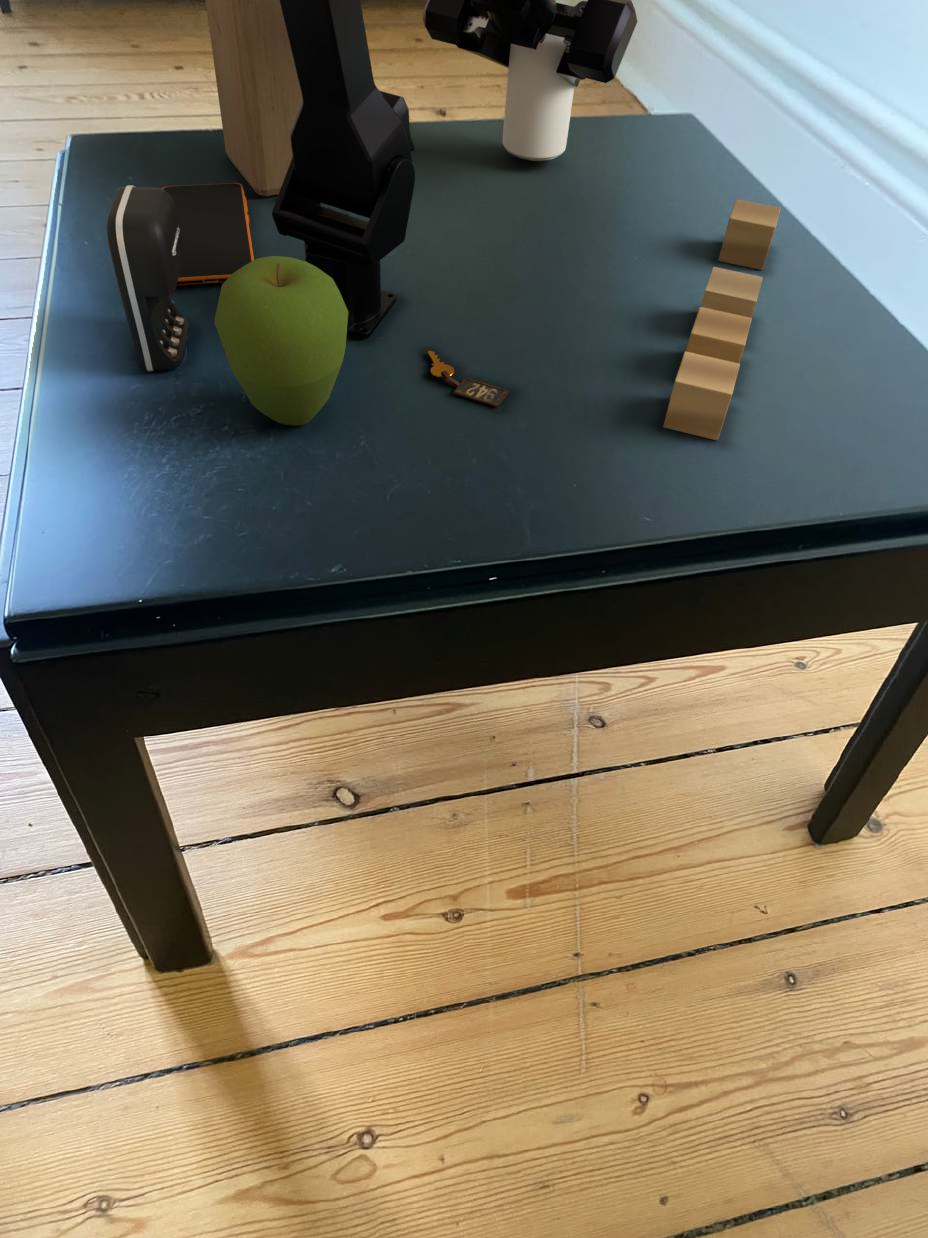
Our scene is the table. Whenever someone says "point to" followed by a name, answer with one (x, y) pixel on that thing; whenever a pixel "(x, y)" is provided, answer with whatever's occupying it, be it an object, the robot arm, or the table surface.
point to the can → (537, 102)
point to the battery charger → (149, 273)
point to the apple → (283, 335)
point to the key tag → (467, 384)
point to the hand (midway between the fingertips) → (547, 73)
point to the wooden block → (255, 88)
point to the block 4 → (701, 395)
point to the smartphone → (212, 231)
